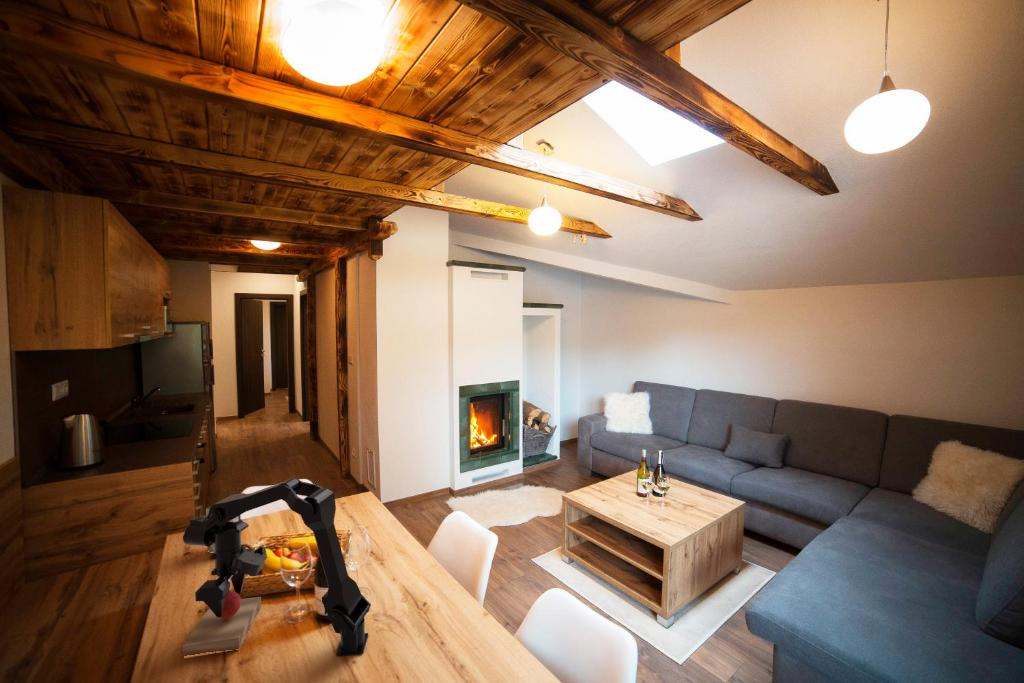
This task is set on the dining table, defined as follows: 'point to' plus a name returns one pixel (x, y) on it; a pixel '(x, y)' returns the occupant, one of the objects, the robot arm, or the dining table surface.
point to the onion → (231, 605)
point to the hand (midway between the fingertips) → (229, 604)
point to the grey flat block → (222, 629)
